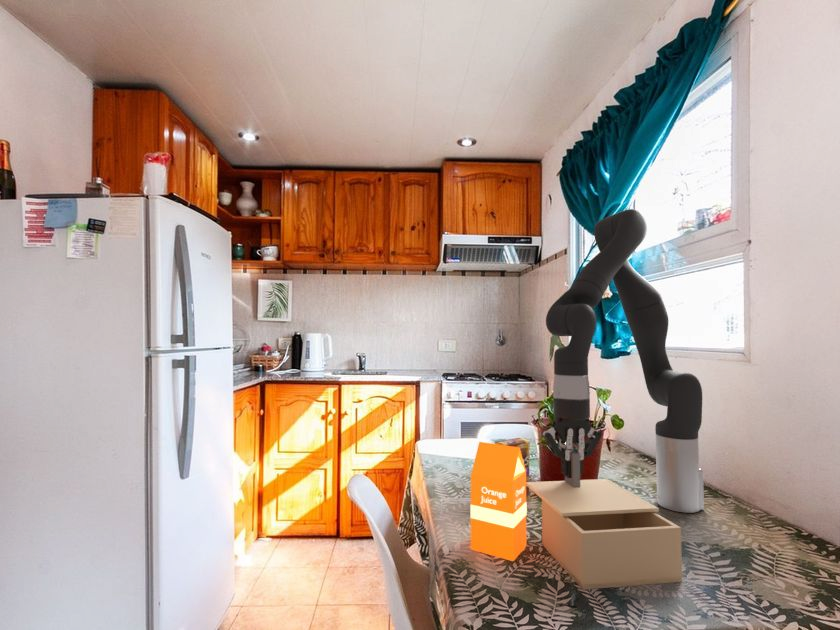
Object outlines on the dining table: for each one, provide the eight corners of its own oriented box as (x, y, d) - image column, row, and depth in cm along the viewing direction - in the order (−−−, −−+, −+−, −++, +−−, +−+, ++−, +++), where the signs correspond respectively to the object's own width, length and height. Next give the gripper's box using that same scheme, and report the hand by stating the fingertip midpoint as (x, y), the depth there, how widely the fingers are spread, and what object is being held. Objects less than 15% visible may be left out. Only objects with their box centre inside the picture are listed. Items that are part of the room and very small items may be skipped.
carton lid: (606, 481, 98) (606, 447, 98) (658, 511, 81) (657, 469, 82) (525, 485, 95) (525, 449, 96) (561, 516, 78) (561, 473, 79)
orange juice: (513, 561, 81) (513, 451, 82) (470, 549, 85) (470, 445, 86) (527, 545, 87) (526, 443, 88) (486, 534, 92) (486, 438, 93)
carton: (625, 539, 90) (624, 494, 91) (682, 581, 74) (680, 527, 75) (542, 544, 88) (541, 498, 88) (582, 589, 72) (582, 533, 72)
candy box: (505, 508, 106) (504, 444, 107) (492, 502, 110) (492, 440, 111) (530, 500, 111) (530, 440, 112) (518, 495, 115) (517, 436, 116)
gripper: (591, 393, 100) (592, 470, 99) (534, 393, 98) (534, 472, 97) (610, 397, 92) (611, 481, 91) (548, 398, 91) (549, 483, 90)
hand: (572, 476), depth 94 cm, fingers closed
